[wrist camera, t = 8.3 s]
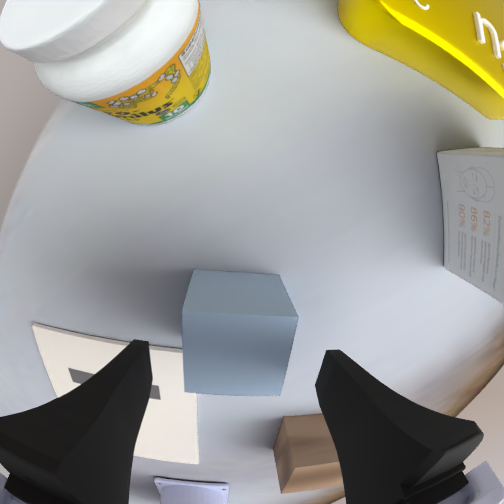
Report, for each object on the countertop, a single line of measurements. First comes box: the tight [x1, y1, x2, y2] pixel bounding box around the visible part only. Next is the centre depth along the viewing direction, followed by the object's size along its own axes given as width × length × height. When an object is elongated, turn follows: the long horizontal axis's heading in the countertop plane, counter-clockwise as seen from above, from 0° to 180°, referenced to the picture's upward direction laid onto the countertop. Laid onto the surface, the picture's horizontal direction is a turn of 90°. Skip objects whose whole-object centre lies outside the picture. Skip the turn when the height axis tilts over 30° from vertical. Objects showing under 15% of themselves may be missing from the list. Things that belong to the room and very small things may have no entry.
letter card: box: [32, 323, 199, 464], centre depth 17 cm, size 14×12×1 cm
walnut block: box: [273, 414, 343, 494], centre depth 17 cm, size 5×5×5 cm
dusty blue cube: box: [182, 269, 298, 396], centre depth 13 cm, size 4×4×4 cm
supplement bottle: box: [0, 0, 211, 126], centre depth 7 cm, size 5×5×10 cm
